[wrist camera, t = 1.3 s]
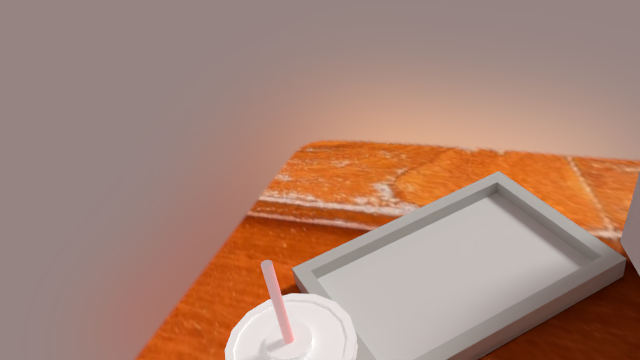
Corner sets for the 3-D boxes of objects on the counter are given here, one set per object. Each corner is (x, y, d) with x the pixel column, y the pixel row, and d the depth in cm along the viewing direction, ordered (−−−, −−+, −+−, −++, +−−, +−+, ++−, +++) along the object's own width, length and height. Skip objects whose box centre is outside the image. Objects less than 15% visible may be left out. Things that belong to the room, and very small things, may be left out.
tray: (498, 187, 48) (498, 171, 47) (623, 276, 39) (626, 258, 38) (296, 284, 43) (291, 268, 42) (384, 412, 34) (381, 395, 33)
